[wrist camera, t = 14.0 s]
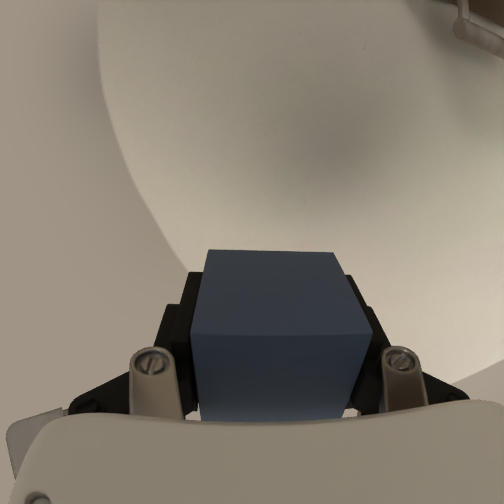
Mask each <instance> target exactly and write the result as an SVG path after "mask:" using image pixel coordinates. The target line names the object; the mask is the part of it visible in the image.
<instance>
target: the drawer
mask: <svg viewBox="0 0 504 504" xmlns="http://www.w3.org/2000/svg"><path fill="white" fill-rule="evenodd" d="M448 1H451V2H453V3H455V4H458V15H459V18H457V19H456V20H455V22H454V24H453V33H454V36H455V37H456V38H457V39H459V40H462V41H464V42H467V43H469V44H471V45H474V46H476V47H478V48H480V49H483V50H485V51H487V52H489V53H491V54H493V55H495V56H497V57H499V58H501V59H503V60H504V38H502V37H500V36H498V35H496V34H495V33H493V32H491V31H489V30H487V29H485V28H483V27H481V26H479V25H476V24H474V23H472V22H470V16H469V10H471V11H473V12H475V13H477V14H479V15H481V16H483V17H485V18H487V19H489V20H491V21H493V22H495V23H496V24H498V25H500V26H502V27H504V0H448Z"/></svg>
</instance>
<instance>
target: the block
mask: <svg viewBox="0 0 504 504" xmlns="http://www.w3.org/2000/svg"><path fill="white" fill-rule="evenodd" d="M372 334H373V331H372V329H371V326H370V324H369V322H368V320H367V318H366V316H365V314H364V312H363V310H362V308H361V306H360V304H359V302H358V300H357V298H356V296H355V294H354V292H353V290H352V288H351V286H350V284H349V282H348V280H347V278H346V276H345V274H344V272H343V270H342V268H341V266H340V264H339V262H338V260H337V258H336V257H335V255H334V253H333V252H295V251H254V250H212V249H209V250H208V253H207V258H206V262H205V266H204V271H203V275H202V280H201V284H200V289H199V293H198V298H197V303H196V307H195V312H194V317H193V322H192V327H191V331H190V335H191V345H192V354H193V363H194V371H195V379H196V387H197V394H198V402H199V408H200V415H201V421H216V422H291V421H310V420H324V419H336V418H341V417H342V415H343V413H344V410H345V408H346V406H347V403H348V401H349V398H350V396H351V393H352V390H353V388H354V385H355V383H356V380H357V377H358V375H359V372H360V369H361V366H362V364H363V361H364V358H365V355H366V352H367V349H368V346H369V343H370V340H371V337H372Z"/></svg>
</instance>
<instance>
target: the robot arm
mask: <svg viewBox="0 0 504 504" xmlns="http://www.w3.org/2000/svg"><path fill="white" fill-rule="evenodd" d="M202 275H203V272H189V274H188V277H187V280H186V284H185V287H184V291H183V294H182V298H181V301H180V304H168V305H167V306H166V309H165V312H164V315H163V318H162V321H161V324H160V327H159V330H158V333H157V337H156V340H155V343H154V346H153V347H147V348H143V349H141V350H139V351H137V352H136V353H135V354H134V355H133V356H132V358H131V360H130V368H129V371H128V372H126V373H124V374H122V375H120V376H118V377H116V378H114V379H112V380H110V381H108V382H106V383H104V384H103V385H100V386H98V387H96V388H94V389H92V390H90V391H88V392H86V393H84V394H82V395H80V396H78V397H77V398H75V399H74V400H73V401H72V403H71V404H70V406H69V409H66V410H63V409H62V408H58V409H55V410H52V411H48V412H45V413H42V414H39V415H36V416H33V417H29V418H26V419H23V420H19V421H17V422H15V423H13V424H12V425H11V426H10V427H9V428H8V430H7V433H6V441H7V446H8V451H9V456H10V461H11V465H12V469H13V473H14V477H15V483H14V486H13V489H12V492H11V495H10V499H9V502H8V504H504V406H503V405H501V404H498V403H496V402H491V401H486V400H470V398H469V397H468V395H467V394H466V393H465V392H463V391H462V390H460V389H458V388H456V387H454V386H451V385H449V384H447V383H445V382H443V381H441V380H439V379H437V378H435V377H433V376H431V375H429V374H427V373H425V372H422V369H421V365H420V361H419V358H418V356H417V355H416V354H415V353H414V352H413V351H411V350H410V349H408V348H405V347H402V346H391V344H390V342H389V340H388V338H387V336H386V334H385V332H384V331H383V329H382V327H381V325H380V323H379V321H378V319H377V317H376V315H375V313H374V311H373V309H372V308H371V307H370V306H367V304H366V302H365V301H364V299H363V297H362V295H361V293H360V291H359V289H358V287H357V285H356V283H355V282H354V280H353V278H352V276H351V275H345V276H346V278H347V280H348V282H349V284H350V286H351V288H352V290H353V292H354V294H355V296H356V298H357V300H358V302H359V304H360V306H361V308H362V310H363V312H364V314H365V316H366V318H367V320H368V322H369V324H370V326H371V329H372V331H373V334H372V337H371V340H370V343H369V346H368V349H367V352H366V355H365V358H364V361H363V364H362V366H361V369H360V372H359V375H358V377H357V380H356V383H355V385H354V388H353V390H352V393H351V396H350V398H349V401H348V403H347V406H346V408H345V409H350V408H354V409H356V410H358V413H357V416H356V417H347V418H336V419H324V420H310V421H291V422H216V421H195V420H186V419H185V416H186V415H187V414H189V413H191V412H192V411H197V409H198V403H199V402H198V394H197V387H196V379H195V371H194V363H193V354H192V345H191V335H190V331H191V327H192V322H193V317H194V312H195V307H196V303H197V298H198V293H199V289H200V284H201V280H202Z"/></svg>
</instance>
